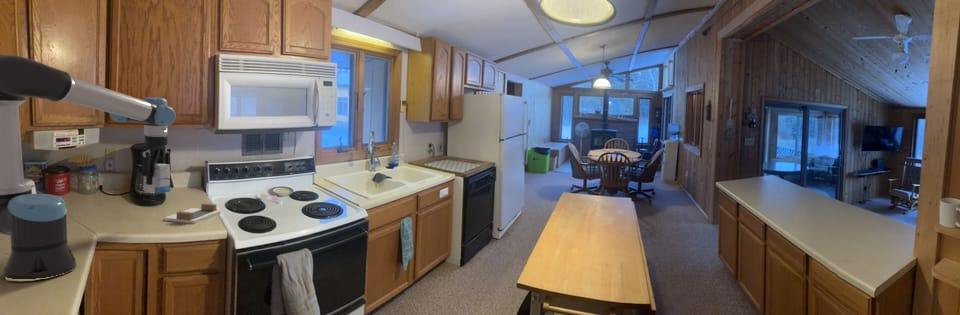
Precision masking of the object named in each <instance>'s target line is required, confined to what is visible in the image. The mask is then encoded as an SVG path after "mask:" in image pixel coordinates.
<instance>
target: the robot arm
mask: <svg viewBox="0 0 960 315" xmlns="http://www.w3.org/2000/svg"><path fill="white" fill-rule="evenodd" d="M26 98H35V99H43V100H47V101H51V102H58V103H59V102H60V101H65V102H68V103H72V104H75V105H79V106H83V107H87V108H91V109H95V110H98V111H101V112H102V111H103V112H105V113H109V116H110V118H111V119H112V120H113V121H114V122H117V123H137V124H138V123H139V124H143V125H144V126H143V132H144V133H143V134H144V135H145V136H144V145H145V146H147V147H146V150H145V151H141V152H140V156H141V176H142V177H143V176H145V177H146V183H147V193H152V192H153V194H155V193H154V192H155V177H153V175H154V170H155V165H156V163H161V164H169V165H170V172H171V170H172V165H171V152H172V149H171V148H167V147H166V146H167V145H168V144H169V142H168V141H169V138H168V136H167V135H168V127H169V126H171V125H172V124H174V122H175V121H176V116H177V115H176V112H175V110H174V109H173V108H172V107H171V106H168V101H167V99H166V98H163V97H149V96H148V97H144V98H143V99H141V98H137V97H134V96H131V95H128V94H125V93H122V92H119V91H115V90H113V89H109V88H106V87H103V86H100V85H97V84H93V83H90V82H87V81H85V80H82V79H81V80H80V79H79V78H75V77H72V75H71V74H70V73H69V72H67V71H64V70H61V69H57V68H55V67H53V66H50V65H47V64H45V63H41V62H39V61H36V60H33V59H32V58H31V59H30V58H27V57H24V56H21V55H20V56H19V55H13V54H0V234H1V235H6V236H10V246H11V247H10V249H11V251H10V255H9V257H8V259H7V260H8V261H7V263H6V266H5V268H4V270H3V277H4V276H5V277H7V278H12V279H36V278H46V277H51V276H56V275H59V274H62V273H66V272H68V271H70V270H72V269H74V268H75V267H76V268H77V261H76V258H75V257H74V255H73V254H74V253H73V252H72V250H71V249H70V247H69V244H68V229H67V228H68V227H67V212H68V210H67V206H66V202H65V200H64V199H63V198H62V197H61V196H58V195H55V194H50V193H49V194H48V193H46V194H45V193H44V194H43V193H33V188H32V187H31V186H30V185H28V184H27V183H25V179H24V164H23V151H22V136H21V135H22V134H21V124H20V123H21V122H20V106H21V105H22V104H24V103H25V102H26ZM76 268H75V269H76ZM75 269H74V270H75Z"/></svg>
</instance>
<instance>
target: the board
mask: <svg viewBox="0 0 960 315" xmlns="http://www.w3.org/2000/svg"><path fill="white" fill-rule="evenodd" d="M219 213H220V214H221V210H217V204H216V203H206V202H204V203H201V205H200V208H197V207H196V208H195V207H191V208H189V209H185V210H182V211H176V213H173V214H170V215H167V216H164V217H163V218H162V220H163V221H166V222H167V221H168V222H175V223H185V224H186V223H187V224H196V223H199V222H202V221H205V220H207V219H210V218H212V217H215V216H217V215H220V214H219ZM209 217H210V218H209ZM206 218H207V219H206ZM204 219H205V220H204Z"/></svg>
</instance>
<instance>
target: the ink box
mask: <svg viewBox="0 0 960 315" xmlns="http://www.w3.org/2000/svg"><path fill="white" fill-rule="evenodd" d="M142 177H143V178H142V179H143V180H142V181H143V192H147V183H146V177H145V176H142ZM153 177H155V192H154V193H153V192H151V193H153V194H159V195H160V194H164V193H168V192H169V193H170V192H171V171H170V165H169V164H161V163H158V162H156V165H155V170H154V175H153ZM147 193H148V192H147Z"/></svg>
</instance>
